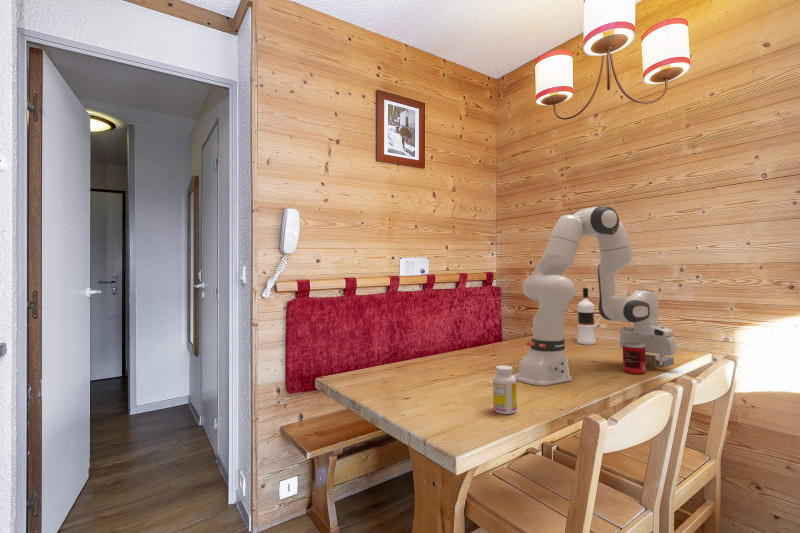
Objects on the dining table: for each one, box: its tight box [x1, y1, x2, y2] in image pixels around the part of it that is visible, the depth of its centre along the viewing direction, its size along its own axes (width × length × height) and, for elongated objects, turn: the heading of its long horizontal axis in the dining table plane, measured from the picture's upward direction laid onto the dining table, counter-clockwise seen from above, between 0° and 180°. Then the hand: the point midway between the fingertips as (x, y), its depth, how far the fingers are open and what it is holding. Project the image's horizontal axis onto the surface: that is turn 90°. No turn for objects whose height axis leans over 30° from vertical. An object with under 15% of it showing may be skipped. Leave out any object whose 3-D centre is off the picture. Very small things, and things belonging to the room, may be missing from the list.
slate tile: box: [646, 353, 674, 368], centre depth 170 cm, size 10×10×2 cm
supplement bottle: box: [492, 365, 518, 415], centre depth 117 cm, size 7×7×13 cm
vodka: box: [576, 287, 597, 346], centre depth 214 cm, size 9×9×30 cm
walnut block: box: [645, 353, 657, 371], centre depth 163 cm, size 5×5×5 cm
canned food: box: [622, 342, 647, 376], centre depth 156 cm, size 8×8×11 cm
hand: (646, 362), depth 163 cm, fingers open, 8 cm apart
